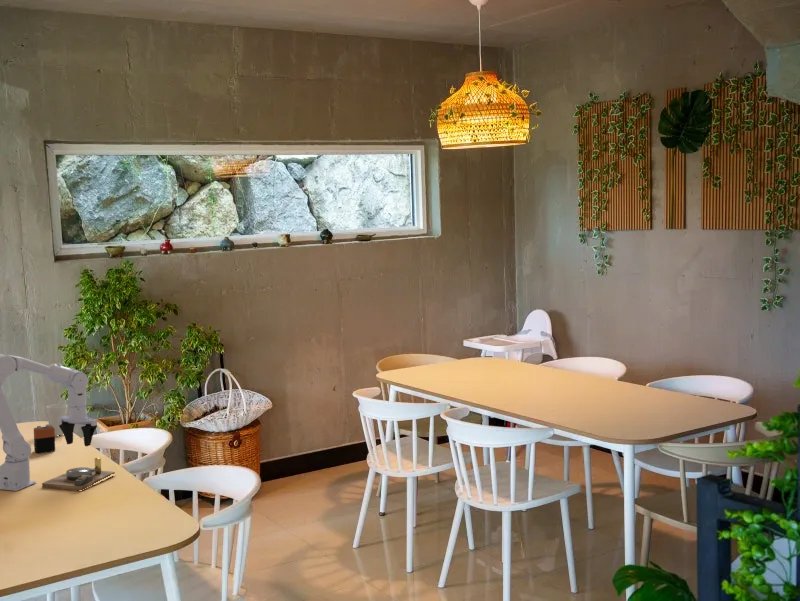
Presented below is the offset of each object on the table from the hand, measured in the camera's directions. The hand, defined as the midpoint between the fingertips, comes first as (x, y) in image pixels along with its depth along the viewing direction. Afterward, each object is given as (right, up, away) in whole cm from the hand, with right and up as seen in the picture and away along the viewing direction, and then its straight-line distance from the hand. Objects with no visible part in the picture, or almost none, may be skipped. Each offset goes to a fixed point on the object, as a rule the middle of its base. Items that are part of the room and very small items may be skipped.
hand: (78, 444), depth 295 cm
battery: (-25, -8, +32) cm, 41 cm away
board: (+3, -11, -8) cm, 14 cm away
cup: (-30, -6, +59) cm, 66 cm away
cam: (+5, -9, -7) cm, 12 cm away
